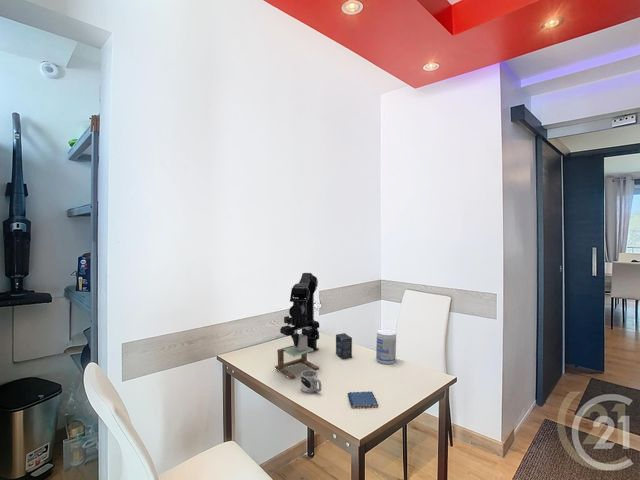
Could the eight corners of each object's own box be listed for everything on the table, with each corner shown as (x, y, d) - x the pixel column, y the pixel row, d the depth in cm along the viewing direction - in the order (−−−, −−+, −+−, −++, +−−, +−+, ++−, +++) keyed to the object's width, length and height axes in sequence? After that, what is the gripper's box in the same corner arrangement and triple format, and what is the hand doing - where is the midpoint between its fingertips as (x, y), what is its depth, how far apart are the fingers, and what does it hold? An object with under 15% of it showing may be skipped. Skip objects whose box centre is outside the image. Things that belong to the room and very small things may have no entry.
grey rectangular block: (301, 346, 157) (301, 333, 156) (307, 348, 153) (307, 336, 153) (293, 348, 154) (293, 335, 154) (299, 351, 150) (299, 338, 150)
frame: (275, 368, 157) (274, 347, 156) (301, 360, 166) (301, 340, 166) (291, 379, 146) (291, 357, 145) (319, 369, 156) (319, 348, 155)
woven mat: (379, 409, 123) (379, 404, 123) (351, 410, 122) (351, 405, 122) (373, 395, 133) (373, 390, 133) (347, 396, 132) (347, 391, 132)
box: (335, 354, 174) (335, 334, 174) (345, 352, 177) (345, 332, 176) (342, 359, 167) (342, 339, 167) (352, 357, 169) (352, 337, 169)
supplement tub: (374, 362, 163) (374, 333, 162) (378, 355, 172) (378, 328, 171) (394, 366, 159) (394, 335, 159) (397, 358, 168) (397, 330, 168)
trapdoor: (283, 350, 155) (283, 349, 155) (302, 345, 162) (301, 343, 162) (294, 356, 148) (294, 354, 148) (313, 350, 155) (313, 349, 155)
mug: (297, 389, 137) (297, 373, 137) (309, 383, 142) (309, 368, 141) (315, 398, 130) (315, 381, 130) (326, 391, 135) (326, 375, 135)
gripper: (305, 305, 165) (306, 336, 166) (273, 312, 153) (274, 345, 154) (320, 310, 156) (320, 342, 157) (287, 317, 144) (287, 352, 145)
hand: (300, 345), depth 154 cm, fingers closed on grey rectangular block, 4 cm apart
